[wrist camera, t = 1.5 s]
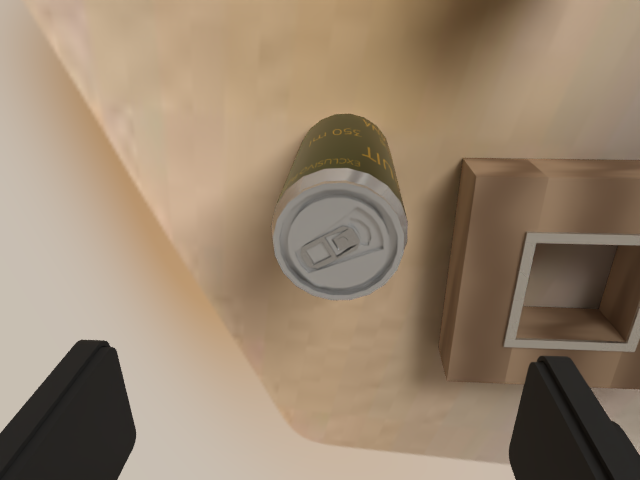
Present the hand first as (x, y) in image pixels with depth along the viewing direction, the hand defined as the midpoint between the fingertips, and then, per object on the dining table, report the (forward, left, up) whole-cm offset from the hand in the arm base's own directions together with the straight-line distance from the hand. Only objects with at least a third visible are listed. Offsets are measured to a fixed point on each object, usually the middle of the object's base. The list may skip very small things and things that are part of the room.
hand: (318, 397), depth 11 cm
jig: (-14, +7, -20) cm, 25 cm away
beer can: (0, 0, -20) cm, 20 cm away
